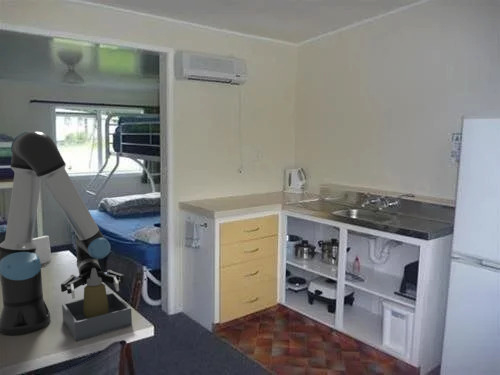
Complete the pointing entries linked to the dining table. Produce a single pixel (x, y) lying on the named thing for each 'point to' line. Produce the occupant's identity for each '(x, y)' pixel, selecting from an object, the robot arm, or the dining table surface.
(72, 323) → the box
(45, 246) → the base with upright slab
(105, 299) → the squeeze bottle
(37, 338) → the dining table surface
